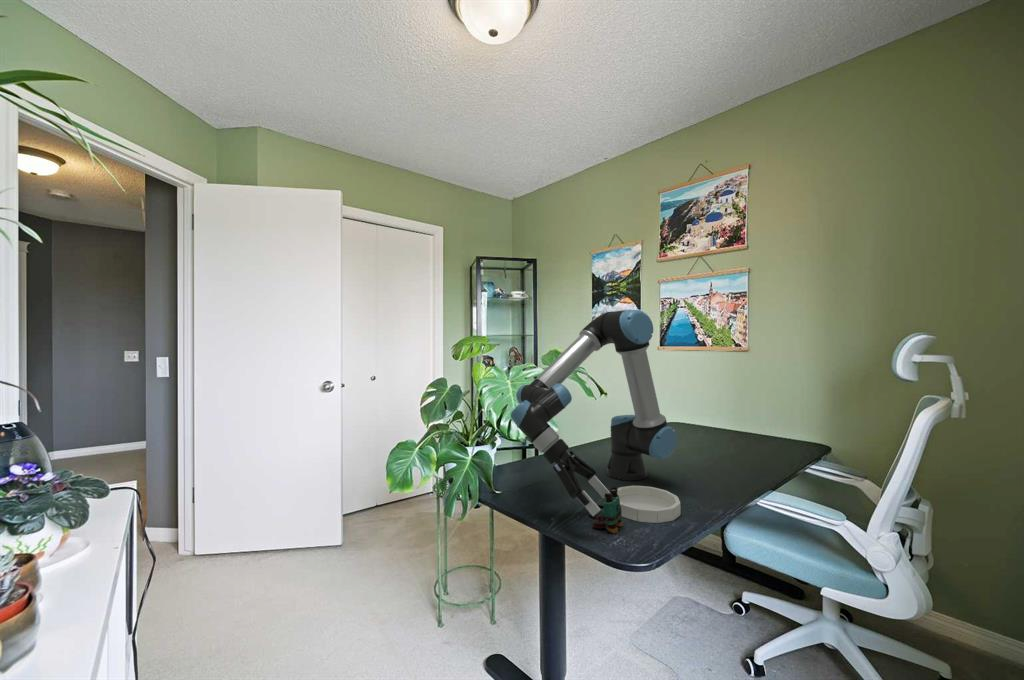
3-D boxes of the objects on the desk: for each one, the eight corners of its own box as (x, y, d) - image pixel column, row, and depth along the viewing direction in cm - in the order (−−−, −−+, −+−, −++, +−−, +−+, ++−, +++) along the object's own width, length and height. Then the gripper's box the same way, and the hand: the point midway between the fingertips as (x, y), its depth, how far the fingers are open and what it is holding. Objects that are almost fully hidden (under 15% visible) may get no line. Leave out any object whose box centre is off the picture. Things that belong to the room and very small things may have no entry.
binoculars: (591, 483, 126) (624, 486, 121) (595, 519, 126) (628, 523, 120) (579, 493, 119) (614, 496, 113) (583, 531, 118) (618, 536, 113)
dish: (599, 509, 131) (599, 498, 131) (630, 491, 145) (630, 481, 145) (662, 529, 117) (662, 516, 117) (689, 507, 132) (689, 496, 132)
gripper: (555, 444, 138) (601, 496, 132) (527, 465, 115) (582, 530, 109) (571, 429, 135) (618, 481, 129) (546, 448, 113) (602, 512, 107)
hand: (602, 503), depth 119 cm, fingers open, 13 cm apart
